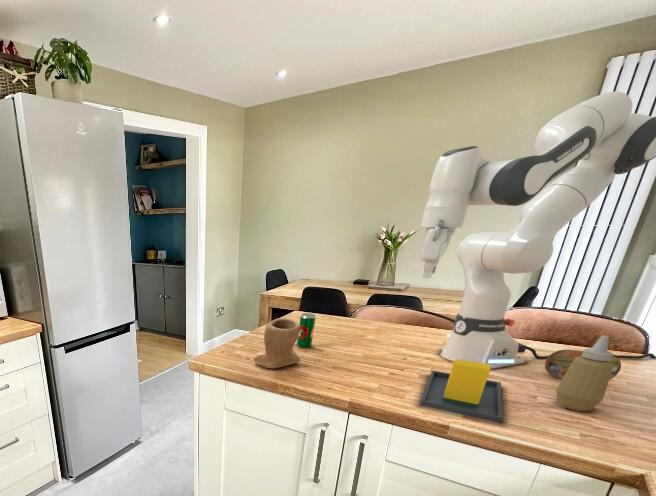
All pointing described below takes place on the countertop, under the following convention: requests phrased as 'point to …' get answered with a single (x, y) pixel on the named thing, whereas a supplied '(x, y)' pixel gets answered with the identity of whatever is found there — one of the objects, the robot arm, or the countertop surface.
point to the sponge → (466, 382)
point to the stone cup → (279, 344)
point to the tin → (564, 358)
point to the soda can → (306, 330)
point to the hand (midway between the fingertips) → (428, 275)
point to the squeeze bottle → (586, 378)
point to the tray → (486, 408)
